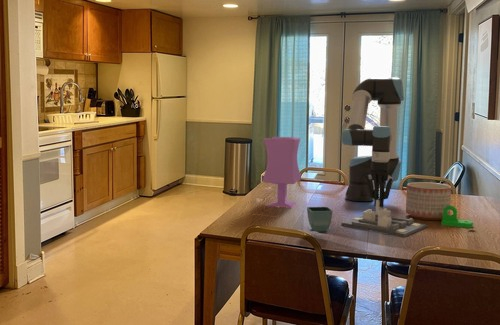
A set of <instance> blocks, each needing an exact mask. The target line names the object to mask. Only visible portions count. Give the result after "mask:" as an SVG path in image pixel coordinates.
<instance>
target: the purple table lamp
mask: <svg viewBox="0 0 500 325" xmlns="http://www.w3.org/2000/svg"><path fill="white" fill-rule="evenodd" d="M263 140H264V144H265V148H266V154H267V161H266V162H267V163H266V168H265V171H264V174H263V178H262V182H263V183H265V184H273V185H277V199H276V200H275V201H276V202H273V201H272V202H273V203H270V202H269V203H270V204H268V203H267V204H265V207H270V206H279V207H278V208H280V207H287V208H286V209H290V208H292V207H293V206H294V205H295V206H296V205H297V204H296V202H297V201H296V202H295V201H287V200H288V199H287V198H288V185H295V184H296V183H297V182H299V181H301V180H302V175H301V172H300V168H299V163H298V151H299V147H300V146H299V145H300V142H301V141H300V140H301V137H292V136H290V137H289V136H287V137H286V136H272V137H264V138H263ZM295 206H294V207H295ZM294 207H293V208H294ZM293 208H292V209H293Z"/></svg>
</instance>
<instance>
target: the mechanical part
mask: <svg viewBox="0 0 500 325" xmlns="http://www.w3.org/2000/svg"><path fill="white" fill-rule="evenodd" d="M447 210H450V211H452V214H450V215H448V214H447ZM441 226H448V227H456V228H457V227H458V228H466V229H470V228H473V226H474V221H473V220H466V219H465V220H464V219H459V218H458V210H457V208H456V206H454V205H451V204H450V205H449V206H446V207H445V208H444V210H443V219H442V220H441Z"/></svg>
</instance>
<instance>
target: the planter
mask: <svg viewBox="0 0 500 325" xmlns="http://www.w3.org/2000/svg"><path fill="white" fill-rule="evenodd" d="M451 197H452V186H451V185H449V184H446V183H445V184H444V183H437V182H429V181H428V182H427V181H426V182H424V181H421V182H418V181H415V182H408V183H407V184H406V198H405V199H406V202H405V213H406V214H408V215H409V217H410V218H413V219H418V220H422V221H423V220H425V221H442V219H443V210H444V208H445V207H446V206H449V205H451V200H452V198H451ZM447 214H448V215H451V210H447Z"/></svg>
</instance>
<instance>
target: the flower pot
mask: <svg viewBox="0 0 500 325" xmlns="http://www.w3.org/2000/svg"><path fill="white" fill-rule="evenodd" d="M306 210H307V220H308V223H309V226H310V228H311V229H312V231H313V232H315V233H316V232H327V231H328V230H329V229H330V226H331V225H332V224H331V223H332V218H333V211H334V210H332V209H331V208H329V207H328V206H308V207H306Z"/></svg>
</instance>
